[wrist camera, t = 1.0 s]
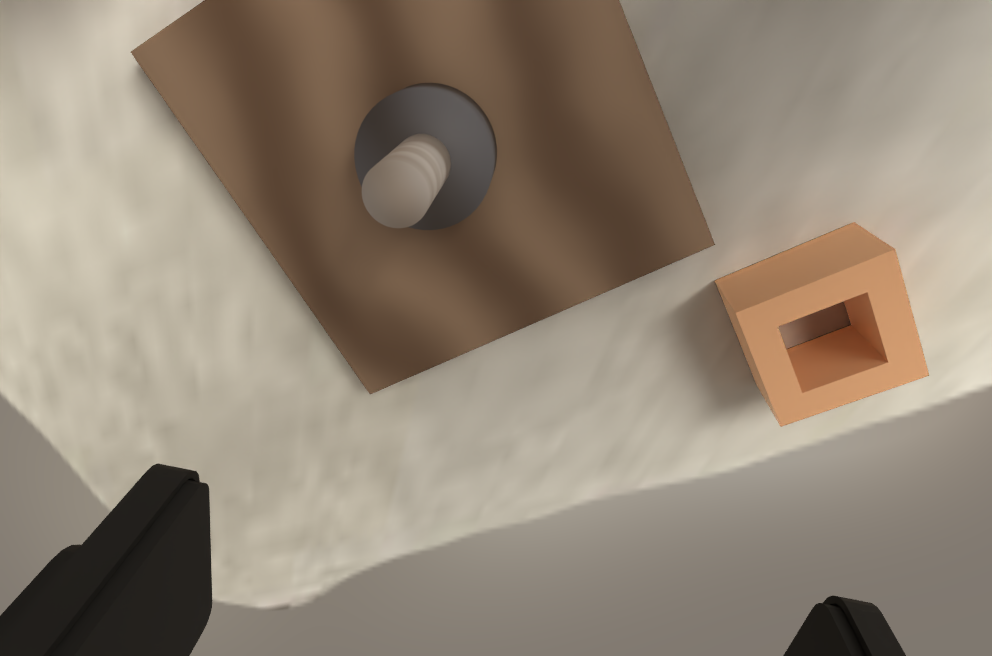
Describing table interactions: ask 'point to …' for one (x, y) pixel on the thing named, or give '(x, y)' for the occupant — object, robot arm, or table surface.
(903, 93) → the table surface
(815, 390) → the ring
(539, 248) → the post stand
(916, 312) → the table surface
